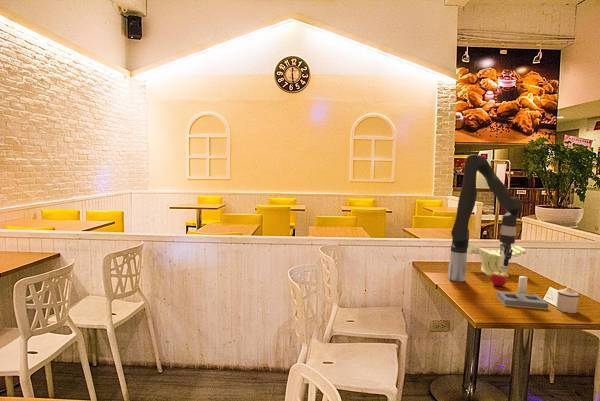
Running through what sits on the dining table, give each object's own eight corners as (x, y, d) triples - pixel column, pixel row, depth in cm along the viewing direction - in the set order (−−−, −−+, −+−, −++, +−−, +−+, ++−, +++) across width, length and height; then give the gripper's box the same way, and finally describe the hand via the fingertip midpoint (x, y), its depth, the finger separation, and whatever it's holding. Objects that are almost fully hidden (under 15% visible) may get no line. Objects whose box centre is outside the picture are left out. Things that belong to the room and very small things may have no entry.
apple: (508, 286, 242) (509, 269, 241) (503, 289, 236) (505, 271, 235) (493, 282, 248) (494, 266, 247) (488, 285, 242) (489, 268, 241)
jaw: (500, 270, 225) (502, 252, 224) (498, 268, 230) (500, 250, 229) (509, 271, 225) (511, 253, 223) (507, 269, 229) (509, 251, 228)
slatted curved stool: (512, 270, 277) (515, 244, 275) (523, 277, 261) (526, 249, 259) (466, 267, 280) (468, 241, 278) (474, 274, 264) (476, 247, 262)
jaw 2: (518, 295, 225) (520, 277, 224) (515, 293, 230) (517, 275, 229) (527, 296, 224) (529, 278, 223) (524, 293, 229) (526, 276, 228)
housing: (504, 305, 209) (505, 299, 208) (496, 296, 223) (496, 291, 222) (547, 309, 206) (548, 303, 205) (536, 300, 219) (537, 294, 219)
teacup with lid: (581, 314, 201) (584, 290, 200) (562, 313, 201) (564, 289, 200) (567, 305, 213) (569, 283, 212) (548, 304, 213) (551, 282, 212)
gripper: (496, 230, 232) (493, 261, 234) (504, 235, 218) (500, 267, 220) (510, 232, 231) (507, 262, 233) (519, 237, 217) (516, 269, 219)
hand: (504, 264), depth 227 cm, fingers closed on jaw, 4 cm apart
